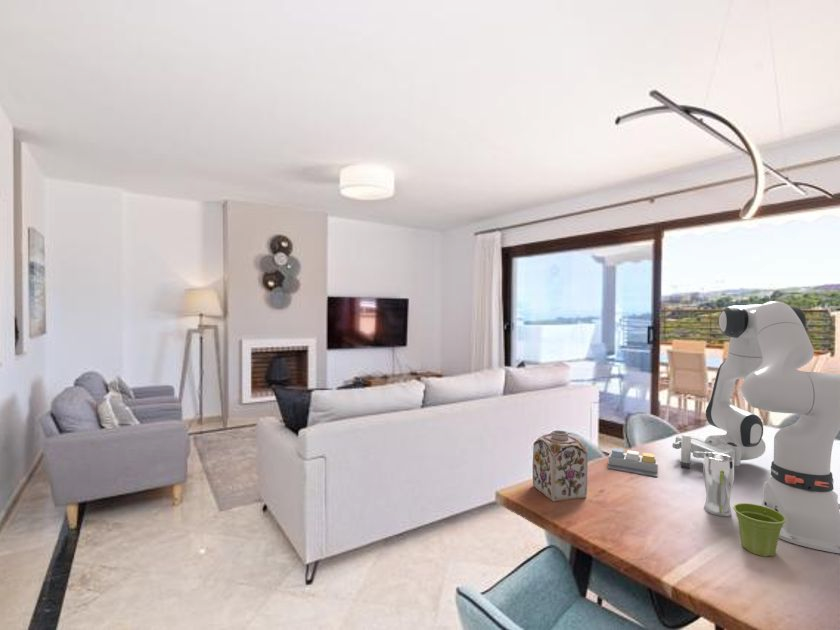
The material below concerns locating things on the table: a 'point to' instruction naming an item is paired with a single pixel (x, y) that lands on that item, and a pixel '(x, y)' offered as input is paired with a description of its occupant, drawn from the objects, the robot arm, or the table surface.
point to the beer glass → (718, 483)
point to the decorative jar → (560, 466)
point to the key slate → (618, 453)
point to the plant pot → (759, 528)
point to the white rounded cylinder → (685, 451)
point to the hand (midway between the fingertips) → (683, 450)
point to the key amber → (648, 458)
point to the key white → (633, 455)
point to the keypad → (633, 465)
